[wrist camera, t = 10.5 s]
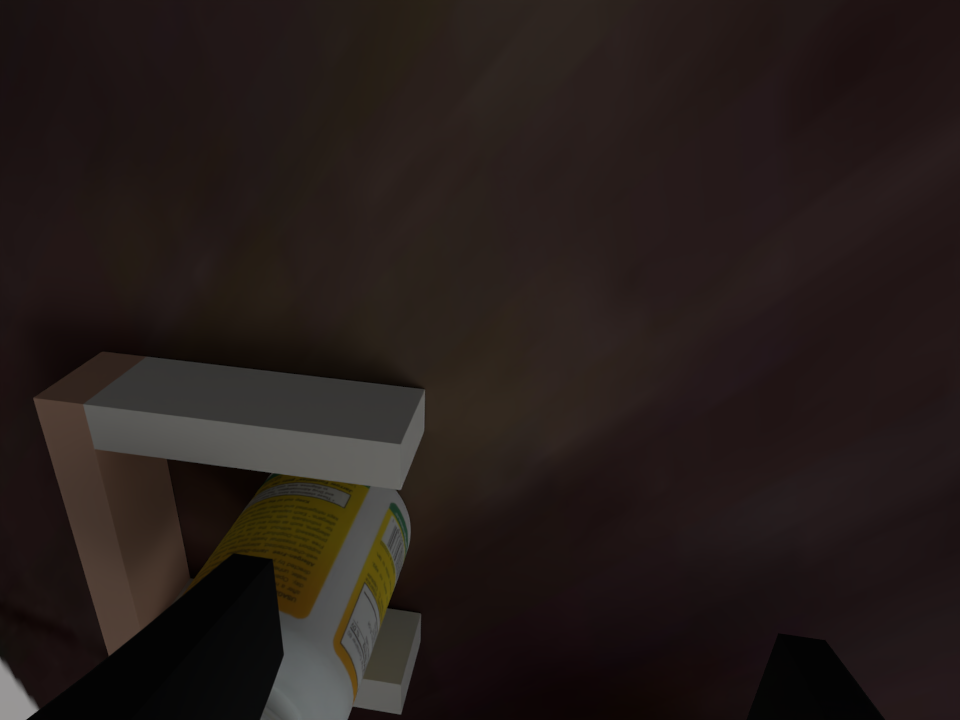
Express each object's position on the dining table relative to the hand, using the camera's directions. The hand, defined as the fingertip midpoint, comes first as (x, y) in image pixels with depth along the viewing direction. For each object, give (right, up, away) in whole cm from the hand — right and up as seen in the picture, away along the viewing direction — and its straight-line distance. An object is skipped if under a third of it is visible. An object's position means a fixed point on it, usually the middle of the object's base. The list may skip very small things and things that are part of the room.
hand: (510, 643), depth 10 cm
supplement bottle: (-5, -1, +13) cm, 14 cm away
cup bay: (-7, -1, +13) cm, 15 cm away
